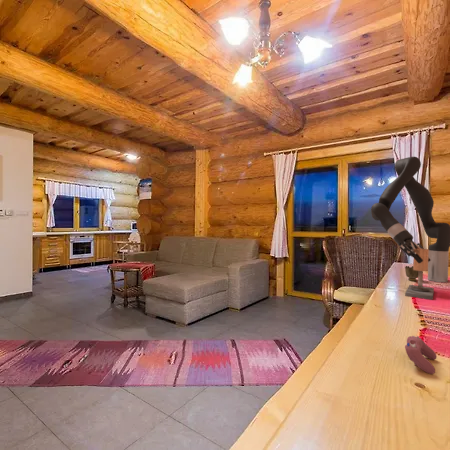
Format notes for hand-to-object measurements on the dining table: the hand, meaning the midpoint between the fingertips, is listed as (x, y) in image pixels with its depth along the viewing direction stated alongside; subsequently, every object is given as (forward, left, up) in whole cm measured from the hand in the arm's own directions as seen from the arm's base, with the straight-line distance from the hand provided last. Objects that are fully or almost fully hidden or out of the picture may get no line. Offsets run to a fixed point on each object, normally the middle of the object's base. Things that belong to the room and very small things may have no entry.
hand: (424, 261), depth 131 cm
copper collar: (0, -2, -4) cm, 5 cm away
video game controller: (+70, +36, -15) cm, 80 cm away
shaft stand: (0, -2, -15) cm, 15 cm away
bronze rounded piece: (-26, -20, -15) cm, 36 cm away
